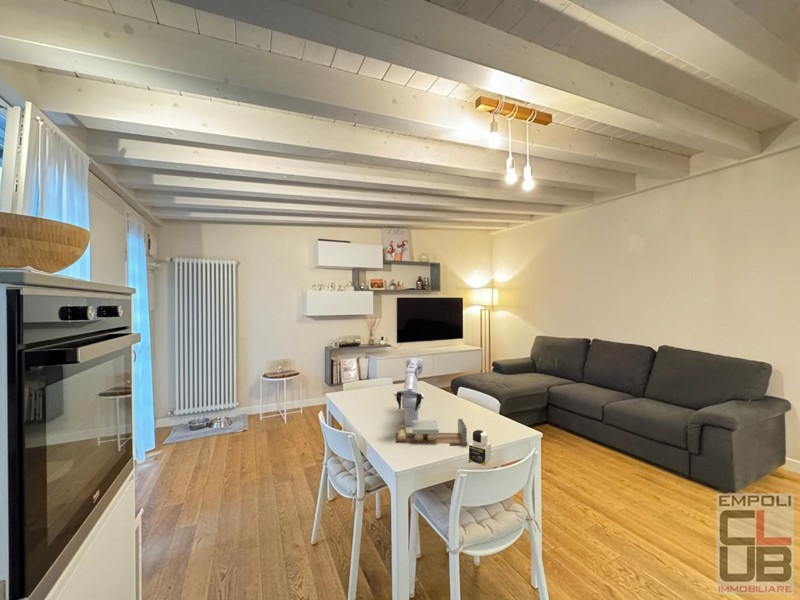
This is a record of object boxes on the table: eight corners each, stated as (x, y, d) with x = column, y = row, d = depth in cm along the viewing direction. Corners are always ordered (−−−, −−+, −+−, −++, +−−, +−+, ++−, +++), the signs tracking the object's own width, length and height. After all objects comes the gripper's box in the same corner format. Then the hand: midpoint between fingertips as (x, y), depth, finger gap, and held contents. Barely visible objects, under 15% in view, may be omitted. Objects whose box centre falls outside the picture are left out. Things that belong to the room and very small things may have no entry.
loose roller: (397, 433, 167) (397, 425, 167) (405, 433, 167) (405, 425, 167) (397, 442, 157) (397, 433, 157) (406, 442, 157) (406, 433, 157)
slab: (411, 424, 168) (412, 420, 168) (435, 424, 168) (436, 420, 168) (412, 433, 156) (412, 429, 156) (438, 433, 156) (438, 429, 156)
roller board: (395, 434, 168) (396, 418, 168) (462, 435, 168) (463, 419, 168) (395, 445, 156) (395, 427, 156) (467, 445, 156) (467, 428, 156)
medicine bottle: (468, 461, 141) (468, 432, 141) (475, 454, 147) (475, 427, 147) (485, 466, 137) (485, 436, 137) (491, 459, 143) (491, 431, 143)
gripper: (396, 379, 169) (393, 401, 157) (424, 382, 168) (423, 404, 157) (395, 389, 173) (392, 411, 161) (423, 392, 172) (422, 414, 160)
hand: (407, 408), depth 159 cm, fingers open, 7 cm apart
